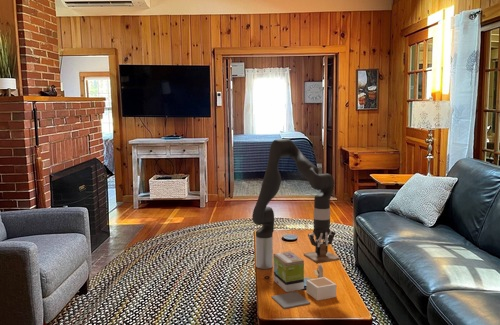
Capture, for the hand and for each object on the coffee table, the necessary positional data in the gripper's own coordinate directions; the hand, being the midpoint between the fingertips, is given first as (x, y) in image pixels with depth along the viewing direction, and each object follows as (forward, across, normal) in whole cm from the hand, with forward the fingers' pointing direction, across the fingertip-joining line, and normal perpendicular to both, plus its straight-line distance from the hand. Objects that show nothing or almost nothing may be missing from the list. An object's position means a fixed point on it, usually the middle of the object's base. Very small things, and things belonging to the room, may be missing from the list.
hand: (321, 253), depth 203 cm
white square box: (+20, 0, 0) cm, 20 cm away
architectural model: (+21, -10, -17) cm, 28 cm away
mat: (+20, +16, 0) cm, 25 cm away
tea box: (+20, +9, -16) cm, 27 cm away
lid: (+2, 0, 0) cm, 2 cm away
